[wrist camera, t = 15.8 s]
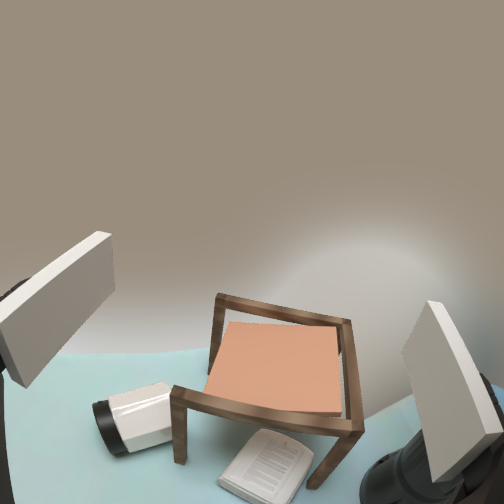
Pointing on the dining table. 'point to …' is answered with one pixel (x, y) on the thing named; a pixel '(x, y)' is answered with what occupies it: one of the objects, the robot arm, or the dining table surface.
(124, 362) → the dining table surface
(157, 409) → the jar
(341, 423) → the trapdoor frame
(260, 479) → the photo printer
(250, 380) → the trapdoor
